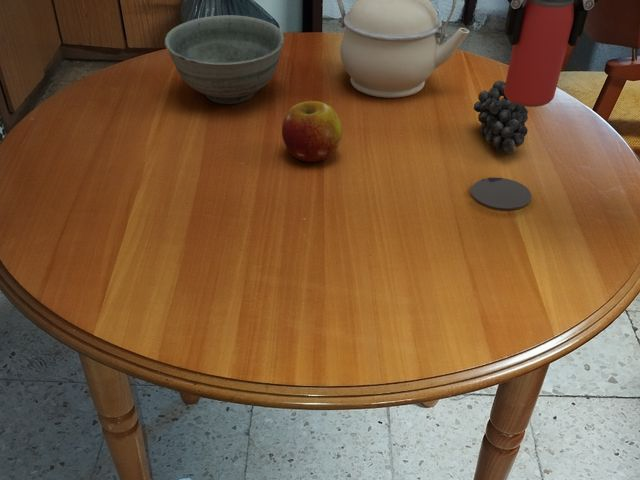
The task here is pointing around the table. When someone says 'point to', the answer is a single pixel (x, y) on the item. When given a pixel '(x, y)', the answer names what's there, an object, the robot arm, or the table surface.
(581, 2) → the robot arm
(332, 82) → the table surface
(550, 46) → the beer can
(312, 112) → the fruit
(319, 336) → the table surface
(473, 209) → the table surface
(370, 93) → the kettle
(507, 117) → the fruit
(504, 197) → the coaster
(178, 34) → the bowl
